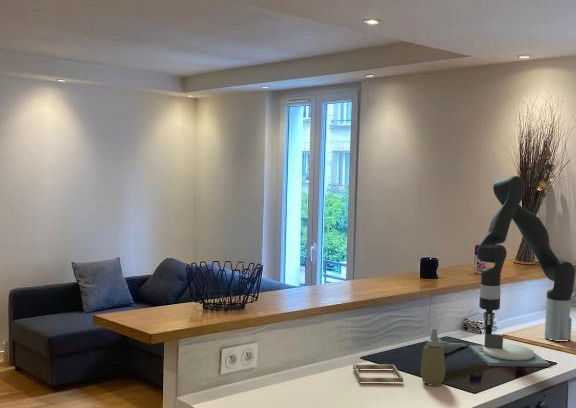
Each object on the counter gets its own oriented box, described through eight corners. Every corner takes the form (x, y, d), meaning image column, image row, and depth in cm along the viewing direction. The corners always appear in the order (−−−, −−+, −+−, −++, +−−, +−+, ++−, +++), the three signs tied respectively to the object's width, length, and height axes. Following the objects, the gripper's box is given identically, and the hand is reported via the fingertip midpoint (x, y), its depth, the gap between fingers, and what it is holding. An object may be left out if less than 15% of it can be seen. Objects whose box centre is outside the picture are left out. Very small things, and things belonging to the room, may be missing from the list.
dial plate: (524, 349, 258) (524, 345, 258) (549, 366, 236) (549, 362, 236) (469, 348, 257) (469, 345, 257) (489, 366, 235) (489, 362, 235)
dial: (533, 350, 252) (534, 333, 251) (533, 363, 235) (534, 345, 235) (481, 343, 259) (481, 327, 258) (477, 356, 242) (477, 338, 241)
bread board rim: (393, 370, 227) (393, 364, 227) (403, 384, 213) (403, 378, 213) (352, 370, 226) (353, 364, 226) (359, 383, 212) (359, 377, 212)
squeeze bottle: (414, 380, 217) (417, 326, 216) (435, 378, 220) (438, 325, 219) (428, 388, 209) (430, 333, 208) (450, 386, 212) (452, 331, 211)
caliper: (436, 356, 247) (436, 339, 246) (433, 355, 248) (434, 338, 247) (467, 347, 260) (468, 331, 260) (465, 346, 261) (466, 330, 260)
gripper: (480, 291, 258) (478, 334, 260) (479, 299, 246) (477, 344, 247) (500, 293, 256) (498, 336, 257) (500, 300, 243) (498, 346, 245)
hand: (488, 340), depth 252 cm, fingers closed
